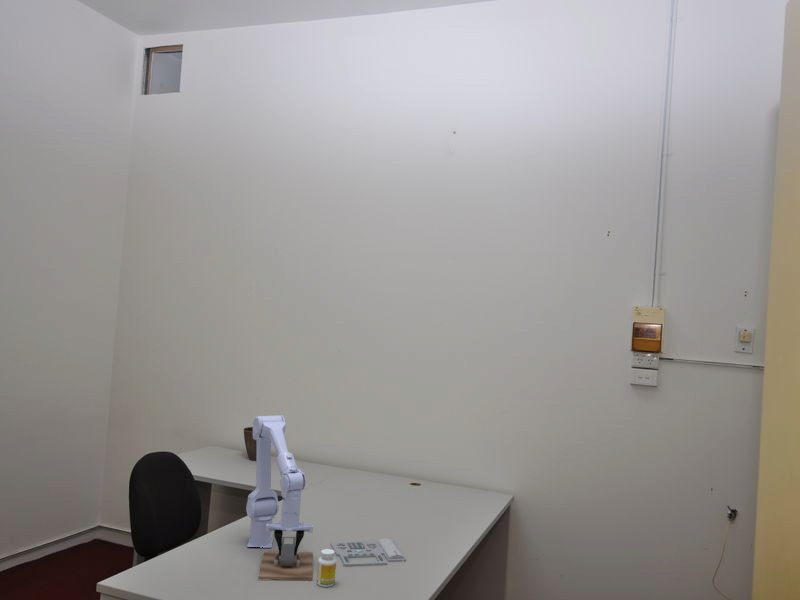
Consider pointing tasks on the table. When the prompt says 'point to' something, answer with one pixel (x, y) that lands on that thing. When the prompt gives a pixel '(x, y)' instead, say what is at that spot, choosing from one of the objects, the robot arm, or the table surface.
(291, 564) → the block
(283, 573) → the pin tray
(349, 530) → the table surface
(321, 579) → the supplement bottle
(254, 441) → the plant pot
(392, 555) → the office telephone
